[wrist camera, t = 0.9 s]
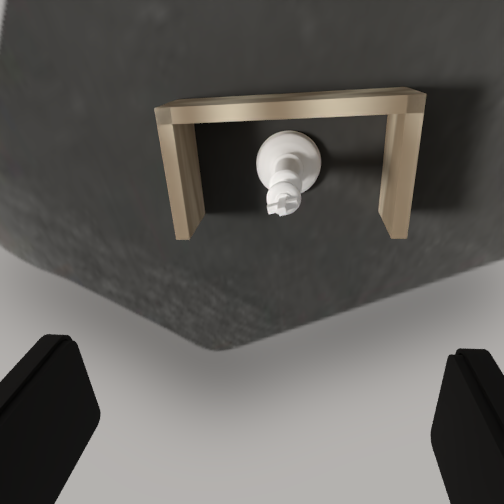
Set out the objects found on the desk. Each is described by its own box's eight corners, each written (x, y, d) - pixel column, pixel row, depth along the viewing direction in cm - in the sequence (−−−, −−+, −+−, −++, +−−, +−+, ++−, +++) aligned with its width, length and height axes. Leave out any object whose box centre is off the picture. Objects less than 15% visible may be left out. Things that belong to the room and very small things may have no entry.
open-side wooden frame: (405, 86, 26) (426, 93, 21) (391, 211, 30) (406, 238, 26) (177, 99, 28) (154, 108, 24) (193, 213, 32) (176, 239, 28)
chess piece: (327, 185, 30) (337, 242, 21) (266, 200, 31) (251, 260, 22) (313, 122, 28) (317, 154, 19) (248, 140, 29) (224, 179, 20)
